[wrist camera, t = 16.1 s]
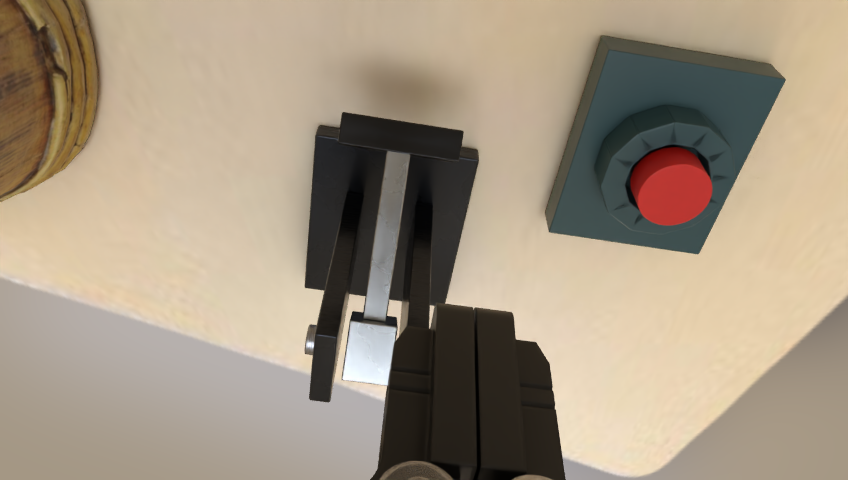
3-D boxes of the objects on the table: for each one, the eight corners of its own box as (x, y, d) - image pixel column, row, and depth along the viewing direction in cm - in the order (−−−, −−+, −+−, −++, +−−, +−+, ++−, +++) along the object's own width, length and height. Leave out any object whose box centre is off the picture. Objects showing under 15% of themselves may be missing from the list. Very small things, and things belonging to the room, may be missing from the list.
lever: (344, 116, 33) (341, 110, 31) (459, 133, 33) (465, 129, 31) (309, 361, 34) (304, 375, 31) (422, 376, 34) (425, 391, 32)
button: (644, 141, 34) (652, 159, 33) (713, 152, 34) (724, 170, 33) (620, 201, 36) (627, 220, 35) (686, 211, 36) (695, 230, 35)
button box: (601, 34, 35) (616, 65, 31) (771, 63, 35) (803, 96, 32) (544, 213, 41) (552, 253, 38) (689, 235, 42) (709, 276, 38)
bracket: (318, 124, 38) (270, 269, 28) (478, 149, 39) (488, 299, 28) (307, 276, 44) (264, 439, 34) (444, 295, 45) (442, 461, 35)
